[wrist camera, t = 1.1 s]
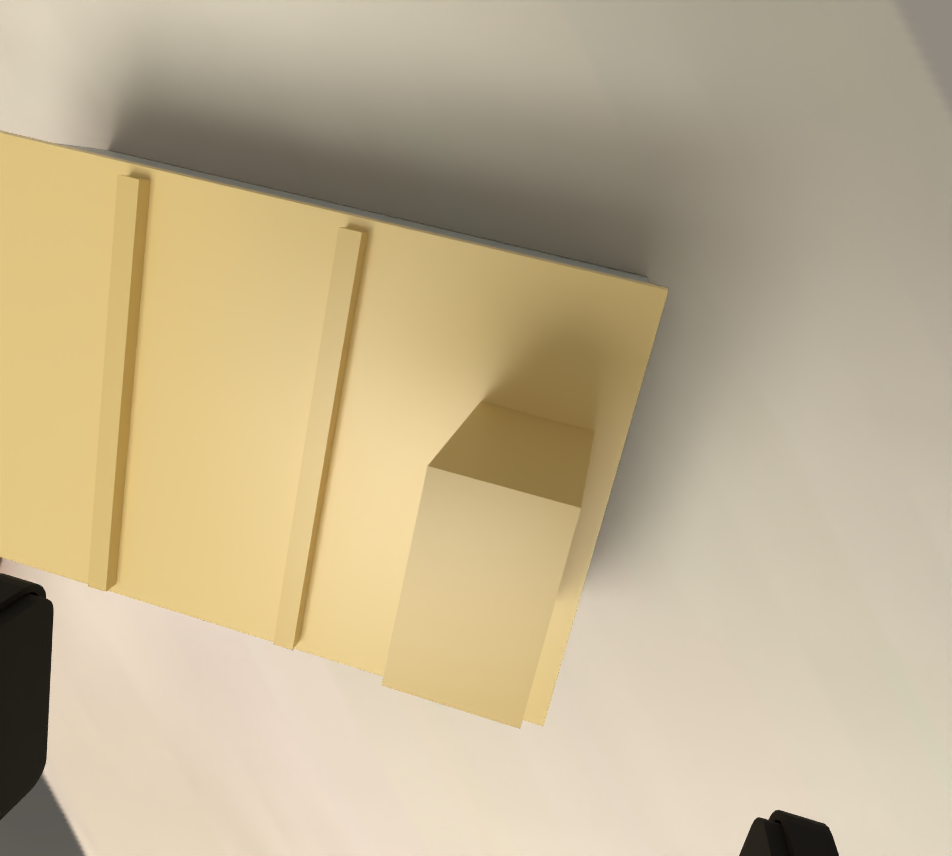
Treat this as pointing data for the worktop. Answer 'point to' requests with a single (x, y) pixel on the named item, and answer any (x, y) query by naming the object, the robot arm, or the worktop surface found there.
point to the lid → (309, 421)
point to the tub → (368, 214)
